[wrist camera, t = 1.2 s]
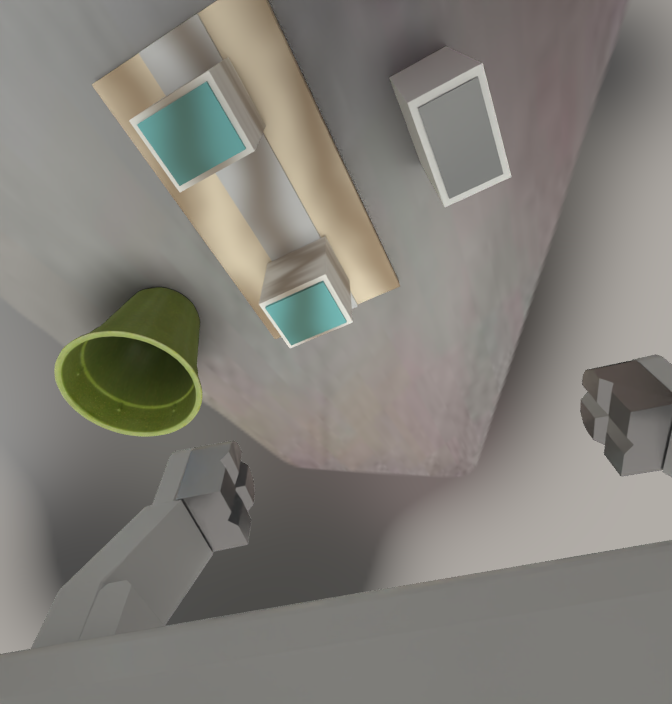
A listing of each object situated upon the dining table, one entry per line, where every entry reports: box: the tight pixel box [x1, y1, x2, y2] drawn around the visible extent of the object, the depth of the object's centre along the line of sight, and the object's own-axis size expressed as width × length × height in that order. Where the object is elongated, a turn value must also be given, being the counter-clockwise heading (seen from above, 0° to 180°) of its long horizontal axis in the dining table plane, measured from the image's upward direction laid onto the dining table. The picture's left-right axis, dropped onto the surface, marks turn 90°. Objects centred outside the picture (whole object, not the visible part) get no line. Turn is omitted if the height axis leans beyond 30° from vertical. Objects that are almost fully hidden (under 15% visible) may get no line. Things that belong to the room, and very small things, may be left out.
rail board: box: [92, 0, 400, 348], centre depth 37 cm, size 14×26×9 cm, turn 26°
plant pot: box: [55, 287, 202, 436], centre depth 43 cm, size 12×12×11 cm
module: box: [389, 46, 511, 207], centre depth 32 cm, size 4×7×10 cm, turn 26°
